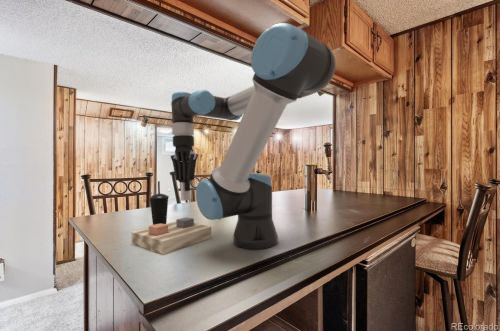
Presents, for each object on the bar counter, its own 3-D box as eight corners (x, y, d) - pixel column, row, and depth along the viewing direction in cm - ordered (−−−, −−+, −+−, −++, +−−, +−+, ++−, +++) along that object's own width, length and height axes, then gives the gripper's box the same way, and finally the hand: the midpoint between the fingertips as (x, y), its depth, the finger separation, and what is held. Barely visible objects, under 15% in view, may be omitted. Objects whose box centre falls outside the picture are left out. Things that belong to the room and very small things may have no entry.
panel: (211, 237, 90) (211, 226, 90) (162, 254, 74) (162, 241, 74) (180, 230, 101) (179, 220, 101) (131, 243, 85) (131, 232, 85)
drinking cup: (163, 232, 98) (162, 181, 98) (145, 231, 99) (144, 182, 99) (173, 227, 105) (172, 180, 105) (156, 227, 107) (155, 180, 107)
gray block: (193, 232, 92) (193, 218, 92) (184, 235, 89) (184, 221, 89) (186, 230, 95) (186, 217, 95) (176, 233, 91) (176, 219, 91)
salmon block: (168, 239, 83) (168, 225, 83) (156, 243, 80) (156, 227, 80) (160, 237, 86) (160, 223, 86) (148, 241, 82) (148, 226, 82)
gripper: (203, 134, 90) (205, 199, 90) (180, 138, 98) (182, 197, 98) (186, 133, 84) (188, 202, 84) (163, 136, 92) (165, 200, 92)
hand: (185, 199), depth 91 cm, fingers closed
